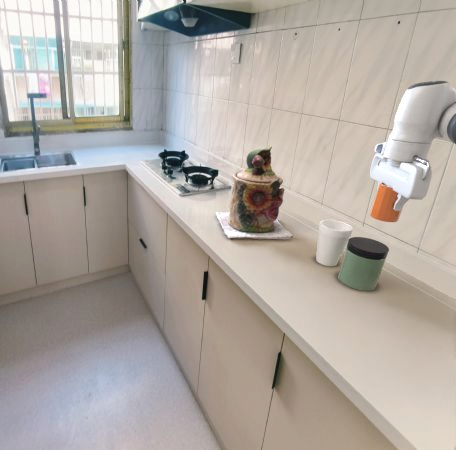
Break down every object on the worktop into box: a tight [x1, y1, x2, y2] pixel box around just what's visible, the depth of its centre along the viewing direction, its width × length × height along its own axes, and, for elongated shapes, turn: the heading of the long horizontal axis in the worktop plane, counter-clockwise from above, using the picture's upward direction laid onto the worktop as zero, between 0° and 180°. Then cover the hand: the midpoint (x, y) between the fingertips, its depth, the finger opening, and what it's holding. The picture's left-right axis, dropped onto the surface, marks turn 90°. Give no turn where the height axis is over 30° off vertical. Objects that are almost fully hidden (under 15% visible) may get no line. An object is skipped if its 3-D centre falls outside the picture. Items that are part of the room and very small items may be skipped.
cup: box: [369, 182, 405, 223], centre depth 89 cm, size 6×6×9 cm
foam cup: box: [315, 218, 354, 267], centre depth 108 cm, size 10×9×13 cm
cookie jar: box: [215, 145, 294, 240], centre depth 128 cm, size 25×25×32 cm
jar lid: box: [346, 236, 390, 259], centre depth 96 cm, size 10×10×2 cm
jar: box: [337, 246, 387, 292], centre depth 98 cm, size 10×10×12 cm
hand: (387, 204), depth 89 cm, fingers closed on cup, 6 cm apart
